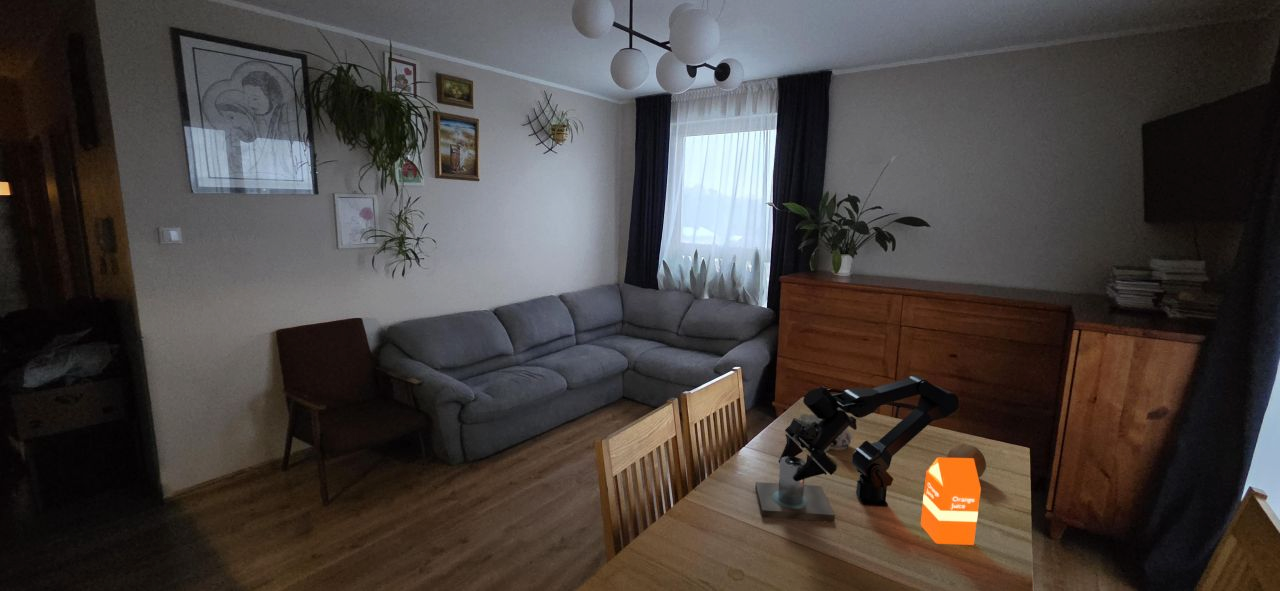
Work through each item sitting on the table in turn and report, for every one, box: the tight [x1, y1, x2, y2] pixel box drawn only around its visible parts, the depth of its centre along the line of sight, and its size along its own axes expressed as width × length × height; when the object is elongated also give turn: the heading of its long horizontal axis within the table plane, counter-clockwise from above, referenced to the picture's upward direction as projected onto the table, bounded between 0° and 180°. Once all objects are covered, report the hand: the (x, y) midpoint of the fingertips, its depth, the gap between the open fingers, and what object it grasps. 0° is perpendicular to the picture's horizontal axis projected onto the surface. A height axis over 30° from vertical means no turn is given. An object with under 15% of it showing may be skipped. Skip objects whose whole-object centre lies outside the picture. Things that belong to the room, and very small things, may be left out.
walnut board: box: [754, 481, 836, 523], centre depth 138 cm, size 18×14×2 cm
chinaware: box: [798, 407, 853, 454], centre depth 174 cm, size 28×17×17 cm, turn 175°
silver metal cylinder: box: [778, 456, 806, 506], centre depth 136 cm, size 6×6×11 cm
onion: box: [946, 443, 987, 479], centre depth 152 cm, size 10×10×10 cm
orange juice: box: [920, 456, 982, 546], centre depth 124 cm, size 8×9×20 cm
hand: (786, 471), depth 135 cm, fingers open, 9 cm apart
